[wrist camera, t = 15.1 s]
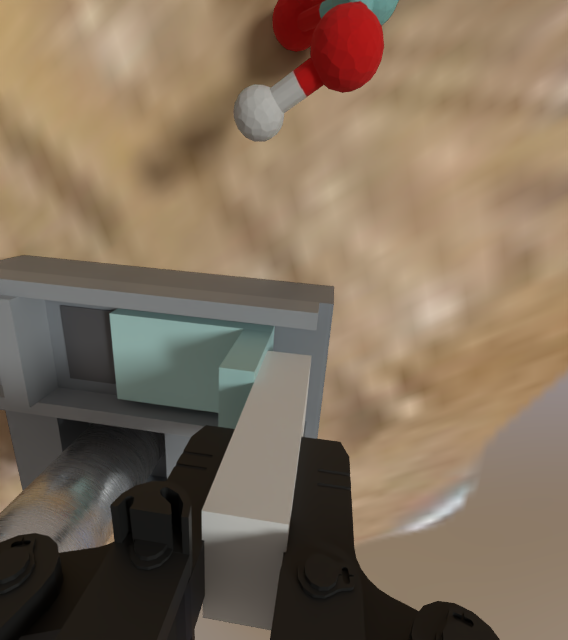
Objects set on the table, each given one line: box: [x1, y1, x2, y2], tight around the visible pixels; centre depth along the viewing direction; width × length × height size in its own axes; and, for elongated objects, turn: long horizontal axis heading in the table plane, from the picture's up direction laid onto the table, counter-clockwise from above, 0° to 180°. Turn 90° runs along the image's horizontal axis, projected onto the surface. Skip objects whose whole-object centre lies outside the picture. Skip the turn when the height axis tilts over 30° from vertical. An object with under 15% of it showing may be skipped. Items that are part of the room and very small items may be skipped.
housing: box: [0, 255, 334, 490], centre depth 16 cm, size 14×12×4 cm
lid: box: [109, 308, 275, 429], centre depth 13 cm, size 6×4×4 cm, turn 86°
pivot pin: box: [0, 423, 166, 553], centre depth 14 cm, size 4×4×10 cm
